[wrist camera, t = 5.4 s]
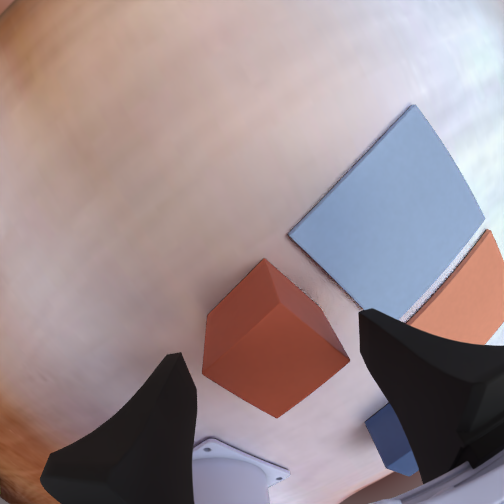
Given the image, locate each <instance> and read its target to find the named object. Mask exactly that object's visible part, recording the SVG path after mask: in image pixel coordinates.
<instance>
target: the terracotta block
mask: <svg viewBox="0 0 504 504" xmlns="http://www.w3.org/2000/svg"><path fill="white" fill-rule="evenodd" d="M349 362H350V359H349V357H348V355H347V353H346V352H345V350H344V348H343V346H342V345H341V343H340V341H339V339H338V338H337V336H336V334H335V332H334V331H333V329H332V327H331V325H330V324H329V322H328V320H327V318H326V317H325V315H324V313H323V312H322V310H321V308H320V307H319V306H318V305H317V304H315V303H314V302H313V301H312V300H311V299H310V298H309V297H308V296H307V295H305V294H304V293H303V292H302V291H301V290H300V289H299V288H298V287H296V286H295V285H294V284H293V283H292V282H291V281H290V280H289V279H288V278H286V277H285V276H284V275H283V274H282V273H281V272H280V271H279V270H277V269H276V268H275V267H274V266H273V265H272V264H271V263H270V262H269V261H267V260H266V259H265V258H264V259H263V260H262V261H261V262H260V263H259V264H258V265H257V266H256V267H255V268H254V269H253V270H252V271H251V272H250V273H249V274H248V275H247V276H246V277H245V278H244V279H243V280H242V281H241V282H240V283H239V284H238V285H237V286H236V287H235V288H234V289H233V290H232V291H231V292H230V293H229V294H228V295H227V296H226V297H225V298H224V299H223V300H222V301H221V302H220V303H219V304H218V305H217V306H216V307H215V308H214V309H213V310H212V311H211V312H210V313H209V314H208V315H207V323H206V334H205V344H204V355H203V367H202V374H203V375H204V376H206V377H207V378H209V379H210V380H212V381H214V382H215V383H217V384H218V385H220V386H222V387H223V388H225V389H226V390H228V391H230V392H231V393H233V394H235V395H236V396H238V397H240V398H241V399H243V400H245V401H246V402H248V403H250V404H252V405H253V406H255V407H257V408H259V409H260V410H262V411H264V412H266V413H268V414H269V415H271V416H273V417H275V418H279V417H280V416H281V415H283V414H284V413H285V412H287V411H288V410H290V409H291V408H292V407H294V406H295V405H296V404H298V403H299V402H300V401H302V400H303V399H304V398H306V397H307V396H308V395H310V394H311V393H312V392H313V391H315V390H316V389H317V388H318V387H320V386H321V385H322V384H323V383H325V382H326V381H327V380H328V379H330V378H331V377H332V376H333V375H335V374H336V373H337V372H338V371H339V370H340V369H342V368H343V367H344V366H345V365H346V364H348V363H349Z"/></svg>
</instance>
